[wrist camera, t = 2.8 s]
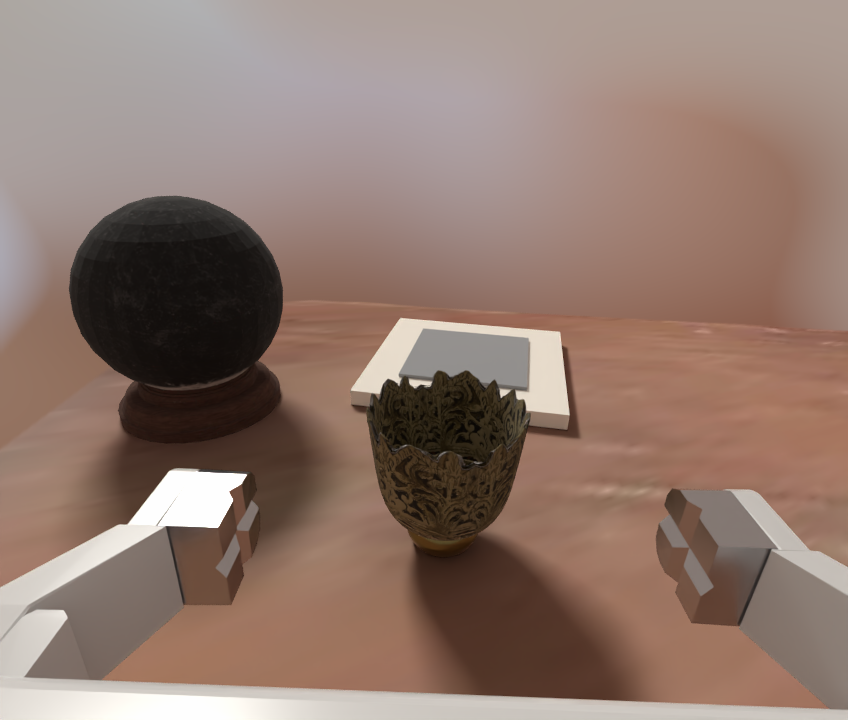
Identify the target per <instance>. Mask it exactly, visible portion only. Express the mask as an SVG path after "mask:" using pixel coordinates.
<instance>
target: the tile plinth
mask: <svg viewBox="0 0 848 720" xmlns="http://www.w3.org/2000/svg"><path fill="white" fill-rule="evenodd" d="M438 370H440V371H444V372H446V373H447V374H448V375H449V376H450V377H451V376H453V375H456V374H458V373H460V372H461V371H464V370H467V371H470V373H471V374H473V375H474V376H475V377H476V378H478V379H479V380H480V383H481V384H482V385H483V386H484V387H488V385H489V384H490V383H491V382H492V381H493V380H494V379H495V380H496V382H497V385H498V387H499V389H500V395H501V398H502V396H505V395H506V394H507V393H509V392H510V391H511V390H513V389H515V391H516V397H517V399H518V400H520V399H524V400H525V403H526V413H528V412H530V413H531V419H530V422H529V425H530V426H539V427H547V428H556V429H564V430H567V429H568V422H569V416H570V414H569V406H568V397H567V389H566V380H565V371H564V363H563V354H562V346H561V337H560V332H554V331H542V330H531V329H519V328H508V327H496V326H485V325H473V324H462V323H450V322H439V321H427V320H416V319H404V318H400V319H399V321H398V322H397V324H396V325H395V327H394V328H393V330H392V331H391V332H390V334H389V335H388V337H387V338H386V340H385V341H384V343H383V344H382V345H381V347H380V348H379V350H378V351H377V353H376V354H375V356H374V357H373V358H372V360H371V361H370V363H369V364H368V366H367V367H366V369H365V370H364V371H363V373H362V374H361V376H360V377H359V379H358V380H357V382H356V383H355V385H354V386H353V387H352V389H351V390H350V393H351V404H352V405H361V406H369V407H370V405H369V404H370V397H371V393H374V394H375V395H376V397H378V399H379V397H380V392H381V388H382V385H383V383H384V382H385V381H386V380H387V379H391V380H393V381H395V382H396V383H398V385H400V381H401V379H402V377H403V376H408V378H409V383H410V385H412V386H413V387H414V388H416V387H418V386H419V385H421V384H422V385H426V386H424V387H430V386H431V383H432V381H433V376H434V374H435V373H436V371H438ZM428 385H430V386H428ZM486 389H487V388H486ZM526 422H527V420H526ZM526 422H525V424H526Z"/></svg>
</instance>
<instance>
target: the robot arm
mask: <svg viewBox="0 0 848 720" xmlns="http://www.w3.org/2000/svg"><path fill="white" fill-rule="evenodd" d="M256 490H257V489H256V483H255V477H254V475H253V474H252V473H251V472H240V471H224V470H207V469H201V470H199V469H184V468H175V469H173V470H170V471H169V472H168V473H167V474H166V476H165V477H164V478H163V479H162V481H161V482H160V483H159V485H158V486H157V487H156V488H155V490H154V491H153V492H152V494H151V495H150V496H149V497H148V499H147V500H146V501H145V503H144V504H143V505H142V506H141V508H140V509H139V510H138V511H137V513H136V514H135V515H134V517H133V518H132V519H131V520H130V522H129V523H128V524H127V525H121V524H119V525H117V526H115V527H113V528H111V529H109V530H108V531H106V532H104V533H102V534H100V535H98V536H96V537H94V538H92V539H91V540H89V541H87V542H85V543H83V544H81V545H79V546H77V547H76V548H74V549H72V550H70V551H68V552H66V553H64V554H62V555H60V556H59V557H57V558H55V559H53V560H51V561H49V562H47V563H45V564H44V565H42V566H40V567H38V568H36V569H34V570H32V571H30V572H28V573H27V574H25V575H23V576H21V577H19V578H17V579H15V580H13V581H11V582H10V583H8V584H6V585H4V586H2V587H0V720H848V567H846V566H845V565H843V564H841V563H839V562H837V561H836V560H834V559H832V558H830V557H828V556H826V555H825V554H823V553H821V552H819V551H810V550H809V549H808V548H807V547H806V546H805V545H804V543H803V542H802V541H801V540H800V539H799V538H798V537H797V536H796V535H795V533H794V532H793V531H792V530H791V529H790V528H789V527H788V526H787V525H786V523H785V522H784V521H783V520H782V519H781V518H780V517H779V516H778V514H777V513H776V512H775V511H774V510H773V509H772V508H771V507H770V506H769V504H768V503H767V502H766V501H765V500H764V499H763V498H762V497H761V496H760V494H758V493H757V492H755V491H753V490H732V489H725V490H700V489H672V490H671V491H670V492H669V493H668V495H667V498H666V501H665V507H666V509H667V511H668V512H669V514H670V515H668V516H667V517H666V518H665V519H664V520H662V521H661V522H660V523H659V526H658V530H657V535H656V548H657V554H658V558H659V561H660V564H661V566H662V568H663V570H664V572H665V573H666V574H667V575H669V576H670V577H671V578H673V579H674V580H675V581H677V582H678V585H677V588H676V592H675V593H676V595H677V597H678V599H679V600H680V602H681V604H682V606H683V608H684V610H685V612H686V614H687V616H688V617H689V619H690V621H691V623H697V624H712V625H726V626H740V627H739V629H740V630H741V631H742V632H743V633H745V634H746V635H747V636H748V637H749V638H750V639H751V640H752V641H754V642H755V643H756V644H757V645H758V646H759V647H760V648H762V649H763V650H764V651H765V652H766V653H767V654H768V655H769V656H771V657H772V658H773V659H774V660H775V661H776V662H777V663H778V664H780V665H781V666H782V667H783V668H784V669H785V670H786V671H788V672H789V673H790V674H791V675H792V676H793V677H794V678H795V679H797V680H798V681H799V682H800V683H801V684H802V685H803V686H805V687H806V688H807V689H808V690H809V691H810V692H811V693H812V694H814V695H815V696H816V697H817V698H818V699H819V700H820V701H822V702H823V703H824V704H825V705H826V706H827V707H828V708H829V709H814V708H789V707H763V706H738V705H712V704H687V703H662V702H637V701H612V700H587V699H562V698H537V697H511V696H486V695H460V694H435V693H409V692H384V691H358V690H333V689H307V688H282V687H256V686H231V685H205V684H180V683H154V682H129V681H103V680H102V679H103V678H104V677H105V676H106V675H108V674H109V673H110V672H111V671H112V670H113V669H114V668H115V667H117V666H118V665H119V664H120V663H121V662H122V661H123V660H125V659H126V658H127V657H128V656H129V655H130V654H131V653H133V652H134V651H135V650H136V649H137V648H138V647H139V646H141V645H142V644H143V643H144V642H145V641H146V640H147V639H149V638H150V637H151V636H152V635H153V634H154V633H155V632H156V631H158V630H159V629H160V628H161V627H162V626H163V625H164V624H166V623H167V622H168V621H169V620H170V619H171V618H172V617H174V616H175V615H176V614H177V613H178V612H179V611H180V610H182V609H183V608H184V605H231V604H232V602H233V600H234V598H235V595H236V593H237V591H238V588H239V586H240V584H241V581H242V579H243V577H244V573H243V565H242V564H243V563H244V562H246V561H247V560H248V559H250V558H251V557H252V555H253V553H254V550H255V548H256V545H257V541H258V536H259V531H260V513H259V507H258V506H257V505H256V504H255V503H254V502H253V501H252V498H253V496H254V494H255V492H256Z"/></svg>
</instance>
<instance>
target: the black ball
mask: <svg viewBox="0 0 848 720" xmlns="http://www.w3.org/2000/svg"><path fill="white" fill-rule="evenodd" d="M69 292H70V299H71V304H72V310H73V314H74V317H75V320H76V322H77V324H78V327H79V329H80V332H81V334H82V336H83V337H84V339H85V340H86V341H87V343H88V344H89V345H90V347H91V348H92V350H93V351H94V352H95V353H96V354H97V355H98V356H99V357H101V358H102V359H103V360H104V361H105V362H106V363H107V364H108V365H110V366H111V367H112V368H113V369H114V370H116V371H117V372H119V373H121V374H123V375H124V376H126V377H128V378H130V379H132V380H134V382H133V383H132V384H131V385H130V386H129V388H128V389H127V391H126V394H125V396H124V397H123V399H122V400H121V402H120V404H119V410H118V411H119V414H120V418H121V421H122V425H123V427H124V428H125V429H126V430H127V431H128V432H129V433H130V434H132V435H134V436H136V437H138V438H141V439H145V440H148V441H153V442H161V443H189V442H198V441H204V440H209V439H214V438H219V437H222V436H225V435H228V434H232V433H235V432H237V431H240V430H242V429H244V428H247V427H249V426H251V425H253V424H254V423H256V422H258V421H260V420H261V419H263V418H264V417H265V416H266V415H268V414H269V413H270V412H271V411H272V410H273V409H274V408H275V406H276V405H277V403H278V401H279V399H280V385H279V381H278V379H277V377H276V376H275V375H274V374H273V373H272V372H271V371H269V369H268V368H267V367H266V366H265V365H264V364H263V363H261V362H259V361H258V360H259V358H260V357H261V356H262V355H263V353H264V352H265V351H266V350H267V348H268V347H269V345H270V344H271V342H272V340H273V338H274V336H275V334H276V332H277V329H278V327H279V323H280V319H281V314H282V307H283V287H282V283H281V278H280V273H279V270H278V267H277V265H276V263H275V260H274V258H273V256H272V254H271V253H270V251H269V249H268V248H267V247H266V245H265V244H264V242H263V241H262V239H261V238H260V237H259V235H258V234H256V232H255V231H254V230H253V229H252V228H251V227H250V226H248V224H246V223H245V222H244V221H243V220H241V219H240V218H238V217H237V216H235V215H234V214H232V213H231V212H229V211H227V210H225V209H223V208H220V207H218V206H216V205H214V204H211V203H209V202H207V201H202V200H198V199H194V198H189V197H182V196H160V197H159V196H158V197H152V198H145V199H142V200H139V201H136V202H133V203H129V204H127V205H125V206H123V207H122V208H120V209H118V210H116V211H115V212H113V213H111V214H109V215H108V216H106V217H105V218H103V219H102V220H101V221H100V222H99V223H98V224H97V225H96V226H95V227H94V228H93V229H92V230H91V231H90V232H89V234H88V235H87V237H86V239H85V240H84V242H83V243H82V244H81V246H80V248H79V249H78V251H77V254H76V257H75V259H74V262H73V265H72V268H71V274H70V286H69Z"/></svg>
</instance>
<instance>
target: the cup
mask: <svg viewBox="0 0 848 720" xmlns="http://www.w3.org/2000/svg"><path fill="white" fill-rule="evenodd" d="M424 386H426V385H422V384H421V385H419V386H418V387H416V388H414V387H413V386H412V385H410V383H409V378H408V376H403V377H402V379H401V381H400V385H398V383H396V382H395V381H393V380H391V379H387V380H386V381H385V382H384V383H383V385H382V388H381V392H380V397H379V399H378V397H376V395H375V394H374V393H371V397H370V404H369V405H370V409H369V408H368V407H367V409H366V412H367V423H368V425H369V432H370V438H371V445H372V451H373V457H374V462H375V468H376V473H377V478H378V483H379V487H380V490H381V493H382V496H383V499H384V501H385V504H386V506H387V507H388V509H389V511H390V512H391V514H392V515H393V516H394V518H395V519H396V520H397V521H398V522H399V523H400V524H401V525H402V526H404V527H405V528H406V529H408V533H409V535H410V537H411V539H412V541H413V542H414V544H415V545H416V546H417V547H418V548H419V549H420V550H422V551H423V552H425V553H427V554H430V555H433V556H437V557H451V556H455V555H458V554H460V553H462V552H464V551H465V550H467V549H468V548H469V547H470V546H471V544H472V543H473V542H474V540H475V538H476V536H477V534H478V533H479V532H481V531H483V530H484V529H485V528H487V527H488V526H489V525H490V524H492V523H493V522H494V521H495V519H496V518H497V517H498V515H499V514H500V513H501V511H502V510H503V508H504V506H505V504H506V502H507V500H508V497H509V494H510V492H511V489H512V485H513V482H514V479H515V475H516V472H517V468H518V464H519V460H520V457H521V453H522V449H523V445H524V441H525V437H526V433H527V429H528V425H529V422H530V419H531V413H530V412H528V413H526V403H525V400H524V399H520V400H518V399H517V397H516V391H515V389H513V390H511V391H510V392H509V393H507V394H506V395H505V396H502V398H501V395H500V389H499V387H498V385H497V382H496V380H495V379H494V380H493V381H492V382H491V383H490V384H489V385H488V387H484V386H483V385H482V384H481V383H480V380H479V379H478V378H476V377H475V376H474V375H473V374H471V373H470V371H467V370H464V371H461V372H460V373H458V374H456V375H453V376H451V377H450V376H449V375H448V374H447V373H446V372H444V371H440V370H438V371H436V373H435V374H434V376H433V381H432V383H431V386H430V385H428V386H430V387H424ZM486 388H487V389H486ZM370 411H371V412H370ZM526 420H527V422H526ZM525 422H526V424H525Z"/></svg>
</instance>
